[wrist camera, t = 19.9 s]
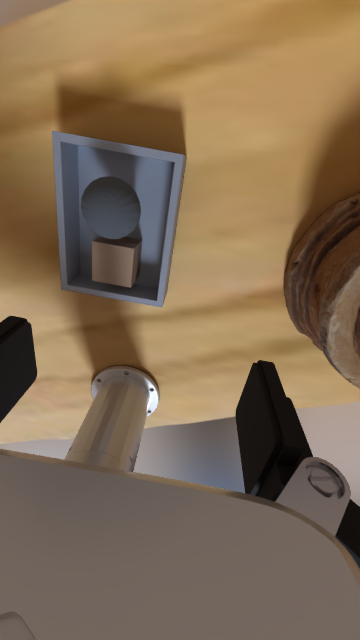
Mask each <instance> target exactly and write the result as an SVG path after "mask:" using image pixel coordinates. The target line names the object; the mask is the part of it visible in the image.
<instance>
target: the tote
mask: <svg viewBox="0 0 360 640" xmlns="http://www.w3.org/2000/svg"><path fill="white" fill-rule="evenodd" d="M52 138H53V155H54V172H55V189H56V206H57V223H58V241H59V258H60V275H61V289H62V290H67V291H73V292H79V293H84V294H90V295H95V296H101V297H106V298H112V299H118V300H123V301H129V302H134V303H140V304H146V305H151V306H157V307H162V306H163V303H164V300H165V297H166V294H167V288H168V281H169V274H170V267H171V261H172V254H173V247H174V240H175V233H176V226H177V220H178V213H179V206H180V199H181V192H182V186H183V179H184V172H185V165H186V158H187V157H186V156H185V155H183V154H177V153H172V152H166V151H161V150H156V149H150V148H145V147H139V146H134V145H128V144H123V143H117V142H112V141H106V140H101V139H95V138H90V137H84V136H79V135H73V134H68V133H62V132H57V131H52ZM106 176H112V177H116V178H119V179H122V180H123V181H125V182H126V183H128V184H129V185H130V186H131V187H132V188H133V190H134V191H135V192H136V194H137V196H138V199H139V201H140V207H141V215H140V221H139V223H138V224H137V226H136V228H135V229H134V230H133V231H132V232H131V233H130V234H129V235H127V236H125V237H130V238H136V239H141V240H143V241H142V251H141V262H140V272H139V276H138V278H137V279H136V281H135V282H134V284H133V285H132V287H131V288H130V287H124V286H119V285H113V284H108V283H102V282H97V281H92V241H93V240H95V239H97V238H98V237H100V235H98V234H97V233H95V232H93V230H92V229H91V228H90V227H89V226H88V225H87V223H86V221H85V219H84V218H83V214H82V210H81V199H82V195H83V193H84V190H85V189H86V187H87V186H88V185H89V184H90V183H91V182H92V181H94V180H96V179H98V178H100V177H106Z"/></svg>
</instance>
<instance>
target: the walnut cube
mask: <svg viewBox="0 0 360 640" xmlns="http://www.w3.org/2000/svg"><path fill="white" fill-rule="evenodd" d="M142 241H143V240H141V239H136V238H130V237H122V238H120V239H108V238H105V237H101V236H100V237H98V238H97V239H95V240H93V241H92V281H97V282H102V283H108V284H113V285H119V286H124V287H130V288H131V287H132V285H133V284H134V282H135V281H136V279H137V278H138V276H139V272H140V262H141V251H142Z"/></svg>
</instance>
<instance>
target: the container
mask: <svg viewBox="0 0 360 640" xmlns="http://www.w3.org/2000/svg"><path fill="white" fill-rule="evenodd" d="M284 295H285V299H286V306H287V310H288V313H289V315H290V318H291V320H292V322H293V324H294V325H295V327H296V328H297V330H298V331H299V332H300V333H302V334H305V335H307V336H308V337H309V338H310V339H312V341H313V344H314V345H316V346H317V347H318V348H319V349H320V350H321V351H323V353H324V354H325V356H326V358H327V359H328V361H329V362H330V364H331V365H332V366H333V367H334V368H335V369H336V370H337V371H338V372H339V373H340V374H341V375H342V376H343V377H344V378H345V379H346V380H348V381H349V382H350V383H352V384H353V385H355V386H356V387H358V388H359V389H360V193H358V194H356V195H354V196H352V197H350V198H347V199H345V200H343V201H340V202H338V203H336V204H335V205H333V206H331V207H330V208H328V209H327V210H326V211H325V212H324V213H323V214H322V215H321V216H319V217H318V218H317V219H316V221H315V222H314V223H313V224H312V225H311V226H310V228H309V229H308V230H307V231H306V233H305V234H304V236H303V237H302V239H301V240H300V241H299V242H298V243H297V245H296V246H295V248H294V250H293V252H292V256H291V259H290V261H289V264H288V267H287V270H286V273H285V288H284Z"/></svg>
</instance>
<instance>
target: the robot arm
mask: <svg viewBox="0 0 360 640" xmlns="http://www.w3.org/2000/svg"><path fill="white" fill-rule="evenodd" d="M36 377H37V367H36V359H35V351H34V343H33V335H32V328H31V324H30V323H29V322H28V321H27V319H25V318H21V317H15V316H9V317H7V318H6V319H5V320H3V321H2V322H0V423H1V421H2V420H3V419H4V418H5V416H6V415H7V414H8V413H9V412H10V410H11V409H12V408H13V407H14V406H15V404H16V403H17V402H18V401H19V399H20V398H21V397H22V396H23V395H24V393H25V392H26V391H27V390H28V388H29V387H30V386H31V385H32V384H33V382H34V381H35V379H36ZM91 394H92V398H93V403H92V405H91V407H90V409H89V411H88V413H87V415H86V417H85V419H84V421H83V423H82V425H81V427H80V429H79V431H78V433H77V435H76V437H75V439H74V441H73V443H72V445H71V447H70V449H69V451H68V453H67V456H66V458H65V460H62V459H57V458H51V457H45V456H40V455H34V454H28V453H21V452H16V451H10V450H4V449H0V640H360V507H359V506H358V505H357V504H355V503H354V502H353V501H352V500H351V499H350V494H351V491H350V487H349V484H348V482H347V480H346V479H345V477H344V476H343V475H342V473H341V472H340V471H339V470H338V469H337V468H336V467H334V466H333V465H332V464H331V463H329V462H327V461H326V460H323V459H320V458H318V457H313V455H312V452H311V450H310V447H309V444H308V442H307V439H306V437H305V434H304V431H303V429H302V426H301V424H300V421H299V418H298V416H297V413H296V410H295V408H294V405H293V403H292V401H291V399H290V398H288V397H286V395H285V392H284V390H283V387H282V384H281V381H280V379H279V376H278V373H277V370H276V368H275V365H274V363H272V362H267V361H262V360H259V361H258V362H257V363H253V365H252V367H251V370H250V373H249V375H248V378H247V381H246V384H245V386H244V389H243V392H242V395H241V397H240V400H239V403H238V406H237V409H236V423H237V431H238V439H239V447H240V454H241V462H242V470H243V478H244V486H245V493H241V492H236V491H231V490H226V489H221V488H216V487H211V486H206V485H201V484H196V483H191V482H186V481H180V480H175V479H169V478H164V477H158V476H152V475H147V474H141V473H136V472H133V471H134V466H135V462H136V458H137V454H138V450H139V446H140V441H141V437H142V433H143V429H144V425H145V421H146V417H147V416H149V415H150V414H152V413H153V412H154V411H155V409H156V408H157V406H158V402H159V397H160V396H159V390H158V387H157V385H156V383H155V382H154V381H153V380H152V378H151V377H149V376H148V375H147V374H146V373H144V372H142V371H140V370H138V369H135V368H132V367H128V366H113V367H109V368H106V369H104V370H102V371H101V372H100V373H98V375H97V376H96V377H95V379H94V381H93V383H92V386H91Z"/></svg>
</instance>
